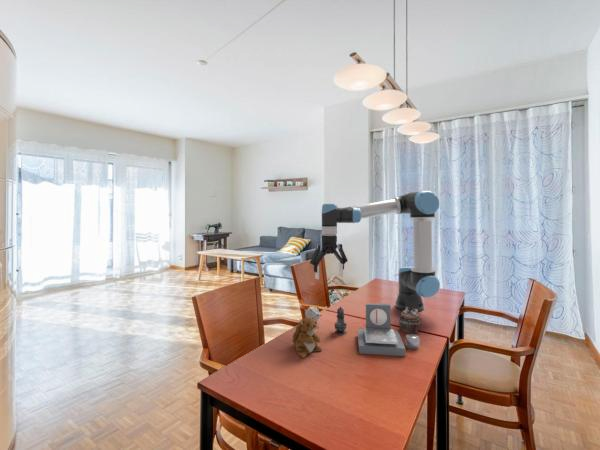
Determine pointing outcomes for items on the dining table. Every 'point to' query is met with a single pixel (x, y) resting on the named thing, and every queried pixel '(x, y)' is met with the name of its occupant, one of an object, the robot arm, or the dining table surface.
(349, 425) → the dining table surface
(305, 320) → the stuffed squirrel
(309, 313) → the game die
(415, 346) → the spacer
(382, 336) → the pan
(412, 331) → the cupcake
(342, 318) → the dark grey tall piece
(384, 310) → the scale base
